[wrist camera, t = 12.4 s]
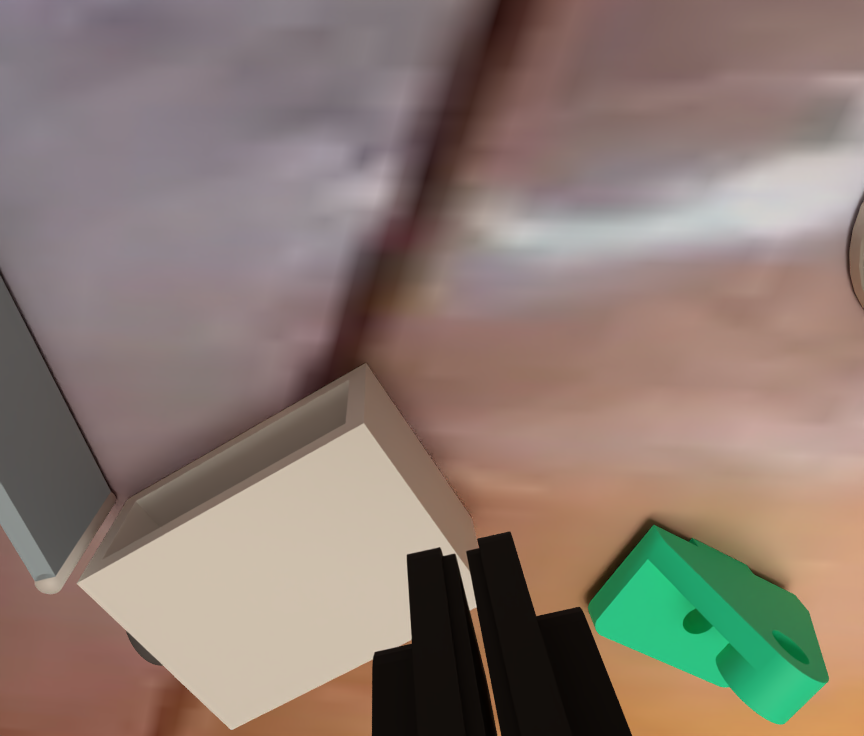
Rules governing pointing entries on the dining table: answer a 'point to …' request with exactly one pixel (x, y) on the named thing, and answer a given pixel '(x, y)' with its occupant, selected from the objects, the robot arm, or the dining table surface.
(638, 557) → the camera mount
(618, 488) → the dining table surface
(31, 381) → the side door
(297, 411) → the block
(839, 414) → the dining table surface
